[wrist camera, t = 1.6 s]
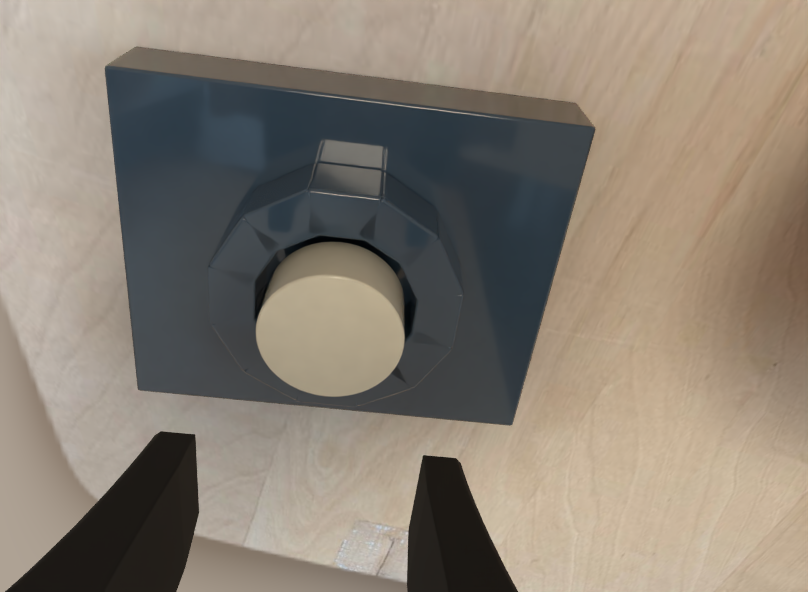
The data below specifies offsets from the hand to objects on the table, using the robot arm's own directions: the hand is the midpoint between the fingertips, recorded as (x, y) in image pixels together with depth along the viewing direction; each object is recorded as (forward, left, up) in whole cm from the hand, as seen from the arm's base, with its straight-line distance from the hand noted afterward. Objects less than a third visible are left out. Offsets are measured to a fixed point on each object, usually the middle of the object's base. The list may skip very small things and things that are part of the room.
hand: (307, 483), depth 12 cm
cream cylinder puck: (0, 0, -6) cm, 6 cm away
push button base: (0, 0, -10) cm, 10 cm away
